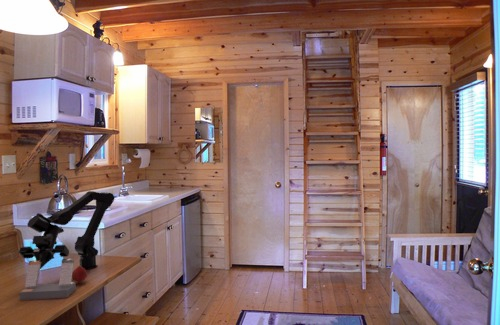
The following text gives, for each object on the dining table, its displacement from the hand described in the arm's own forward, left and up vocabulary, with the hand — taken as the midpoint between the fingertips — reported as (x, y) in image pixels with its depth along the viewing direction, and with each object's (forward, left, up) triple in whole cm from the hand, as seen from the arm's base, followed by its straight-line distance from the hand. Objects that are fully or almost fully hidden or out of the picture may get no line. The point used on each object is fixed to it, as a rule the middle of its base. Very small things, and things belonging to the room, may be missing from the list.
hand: (37, 269), depth 145 cm
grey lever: (-5, +13, -5) cm, 15 cm away
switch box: (-1, +8, -9) cm, 12 cm away
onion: (-14, +6, -9) cm, 18 cm away
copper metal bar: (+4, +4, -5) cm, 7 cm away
